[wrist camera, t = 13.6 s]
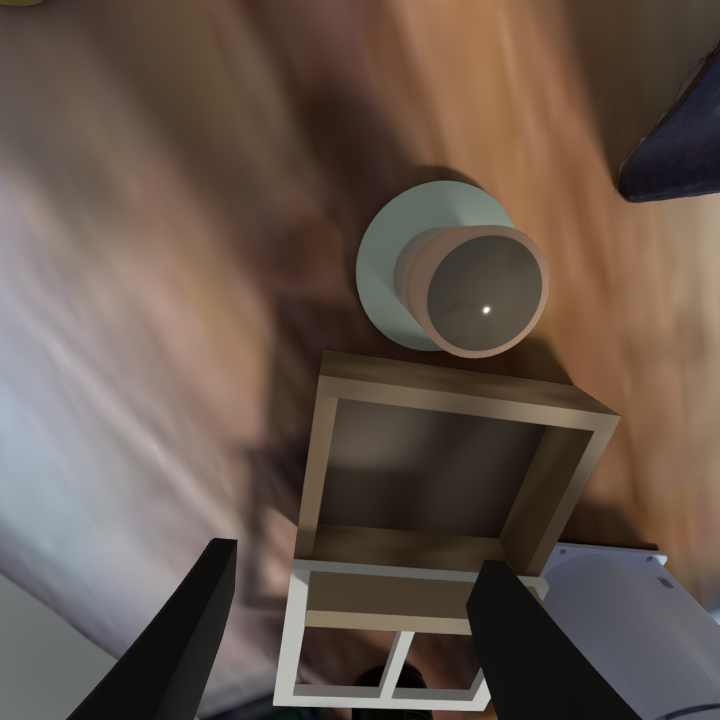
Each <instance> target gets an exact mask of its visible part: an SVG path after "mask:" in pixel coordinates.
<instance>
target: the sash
mask: <svg viewBox="0 0 720 720" xmlns="http://www.w3.org/2000/svg"><path fill="white" fill-rule="evenodd" d="M478 574H479V573H474V572H461V571H447V570H434V569H420V568H407V567H393V566H380V565H367V564H353V563H340V562H326V561H313V560H299V559H293V565H292V572H291V579H290V586H289V594H288V601H287V608H286V615H285V622H284V629H283V636H282V644H281V651H280V658H279V665H278V672H277V679H276V686H275V693H274V701H273V706H310V707H349V708H387V709H425V710H464V711H484V709H485V707H486V705H487V703H488V702H489V700H490V698H491V696H490V693H489V690H488V687H487V684H486V681H485V678H484V675H483V672H482V669H481V668H480V670H479V672H478V674H477V676H476V678H475V680H474V682H473V684H472V686H471V688H470V690H449V689H419V688H395V686H396V683H397V680H398V677H399V675H400V672H401V669H402V666H403V663H404V661H405V658H406V655H407V652H408V649H409V647H410V644H411V641H412V638H413V635H414V632H426V633H445V634H464V635H472V633H471V629H470V624H469V619H468V615H467V610H466V603H467V601H468V598H469V596H470V594H471V591H472V589H473V586H474V584H475V582H476V579H477V577H478ZM517 577H518V578H519V579H520V580H521V582H522V583H523V584H524V585H525V586H526V588H527V589H528V590H529V591H530V593H531V594H532V595H533V596H534V597H535V599H536V600H537V601H538V602H539V603H540V605H541V606H542V607H543V608H544V610H545V611H546V612H547V613H548V611H547V610H546V608H545V606H544V604H543V602H542V601H543V599H544V597H545V596H546V594H547V592H548V590H549V588H550V587H549V585H548V584H547V582H546V580H545V579H544V578H542V577H528V576H517ZM548 614H549V613H548ZM549 616H550V615H549ZM305 626H311V627H331V628H350V629H369V630H388V631H397V632H396V635H395V638H394V641H393V645H392V648H391V651H390V654H389V657H388V660H387V663H386V666H385V669H384V672H383V675H382V678H381V681H380V684H379V687H359V686H329V685H298V684H295V679H296V673H297V667H298V662H299V656H300V650H301V644H302V639H303V633H304V627H305Z"/></svg>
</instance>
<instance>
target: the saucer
mask: <svg viewBox="0 0 720 720" xmlns="http://www.w3.org/2000/svg"><path fill="white" fill-rule="evenodd" d="M478 225H502V226H507V227H511V228H514V226H513V223H512V221H511V219H510V218H509V216H508V214H507V213H506V211H505V210H504V209H503V207H502V206H501V205H500V204H499V203H498V202H497V201H496V200H495V199H494V198H493V197H492V196H490V195H489V194H487V193H486V192H484V191H483V190H481V189H479V188H477V187H475V186H472V185H469V184H466V183H462V182H456V181H435V182H429V183H425V184H421V185H418V186H415V187H413V188H411V189H409V190H407V191H405V192H403V193H401V194H400V195H398V196H397V197H395V198H394V199H392V200H391V201H390V202H389V203H388V204H386V205H385V206H384V207H383V208H382V209H381V210H380V211H379V212H378V214H377V215H376V216H375V217H374V218H373V220H372V221H371V223H370V224H369V226H368V228H367V230H366V232H365V233H364V235H363V238H362V241H361V243H360V246H359V250H358V254H357V260H356V283H357V289H358V293H359V296H360V300H361V303H362V305H363V308H364V310H365V312H366V314H367V315H368V317H369V318H370V320H371V321H372V323H373V324H374V325H375V326H376V328H377V329H378V330H380V331H381V332H382V333H383V334H384V335H385V336H387V337H388V338H389V339H391V340H392V341H394V342H396V343H398V344H400V345H402V346H405V347H408V348H411V349H416V350H422V351H440V350H444V349H442V348H441V347H439V346H438V345H437V344H436V343H435V342H434V341H433V340H432V339H431V338H430V337H429V335H428V334H427V333H426V332H425V331H424V329H423V328H422V327H421V326H420V325H419V324H418V322H417V321H416V320H415V319H414V318H413V317H412V315H411V314H410V313H409V312H408V311H407V309H406V308H405V307H404V306H403V305H402V304H401V302H400V300H399V299H398V297H397V294H396V291H395V288H394V280H393V275H394V268H395V264H396V261H397V258H398V256H399V254H400V252H401V251H402V249H403V248H404V246H405V245H406V244H407V243H408V242H409V241H410V240H411V239H412V238H413V237H415V236H416V235H417V234H419V233H421V232H423V231H425V230H428V229H431V228H436V227H454V226H478ZM514 229H515V228H514Z"/></svg>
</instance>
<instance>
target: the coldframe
mask: <svg viewBox="0 0 720 720" xmlns="http://www.w3.org/2000/svg"><path fill="white" fill-rule="evenodd" d="M620 418H621V416H620V415H619V414H617V413H616V412H614V411H613V410H611V409H610V408H608V407H607V406H605V405H604V404H602V403H601V402H599V401H598V400H596V399H595V398H593V397H592V396H590V395H588V394H587V393H585V392H584V391H582V390H581V389H579V388H578V387H576V386H574V385H567V384H560V383H553V382H546V381H539V380H532V379H525V378H518V377H511V376H504V375H497V374H491V373H484V372H477V371H470V370H463V369H456V368H449V367H442V366H435V365H428V364H421V363H414V362H407V361H400V360H394V359H387V358H380V357H373V356H366V355H359V354H352V353H345V352H338V351H331V350H324V349H323V354H322V361H321V367H320V374H319V381H318V388H317V395H316V402H315V409H314V416H313V423H312V430H311V438H310V445H309V452H308V459H307V466H306V473H305V480H304V487H303V495H302V502H301V509H300V516H299V523H298V530H297V537H296V544H295V552H294V559H299V560H313V561H326V562H340V563H353V564H367V565H380V566H393V567H407V568H420V569H434V570H447V571H461V572H474V573H479V572H480V570H481V567H482V565H483V563H484V560H485V559H487V560H500V561H505V563H506V564H507V565H508V566H509V567H510V568H511V570H512V571H513V572H514V573H515V574H516V576H528V577H539V576H540V574H541V572H542V570H543V568H544V566H545V564H546V562H547V561H548V559H549V557H550V555H551V553H552V551H553V549H554V547H555V545H556V543H557V541H558V539H559V537H560V535H561V533H562V531H563V529H564V527H565V525H566V523H567V522H568V520H569V518H570V516H571V514H572V512H573V510H574V508H575V506H576V504H577V502H578V500H579V498H580V496H581V494H582V492H583V490H584V488H585V486H586V485H587V483H588V481H589V479H590V477H591V475H592V473H593V471H594V469H595V467H596V465H597V463H598V461H599V459H600V457H601V455H602V453H603V451H604V449H605V447H606V446H607V444H608V442H609V440H610V438H611V436H612V434H613V432H614V430H615V428H616V426H617V424H618V422H619V420H620Z"/></svg>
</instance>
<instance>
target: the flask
mask: <svg viewBox="0 0 720 720" xmlns="http://www.w3.org/2000/svg"><path fill="white" fill-rule="evenodd" d="M679 91H680V93H679V94H678V95H677V96H678V97H677V99H676V101H675V102H676V103H675V104H674V105H673V107H671V108H670V109H669V111H668V112H662V113H660V118H659V119H658V122H657V124H656V127H655V128H654V129H653V131H652V132H651V133H650V134H649V135H647V136H646V137H645V138H643V139H642V138H641V139H640V140H641V141H640V143H639V144H638V145H637V147H636V148H635V149H634V150H633V151H632V152H631V153H630V155H629V156H628V157H627V159H626V160H625V161H624V162H622V164H621V165H620V167H619V172H618V176H617V178H618V179H617V186H616V189H615V191H614V193H619V195H620V196H621V197H622V198H623V199H624V200H625V201H626V202H628V203H635V204H638V203H641V202H648V201H660V200H667V199H674V198H681V197H692V196H701V195H706V194H713V193H719V192H720V39H719V41H718V42H717V44H716V45H715V46H714V47H713V50H711V51H710V52H708V53H707V56H705V58H702V59H701V60H700V61H699V63H698V64H697V66H696V67H695V68H694V69H693V70H692V71H690V72H689V75H688V77H687V79H686V80H685V81H684V82H683V83H682V85H681V89H680V90H679Z"/></svg>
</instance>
